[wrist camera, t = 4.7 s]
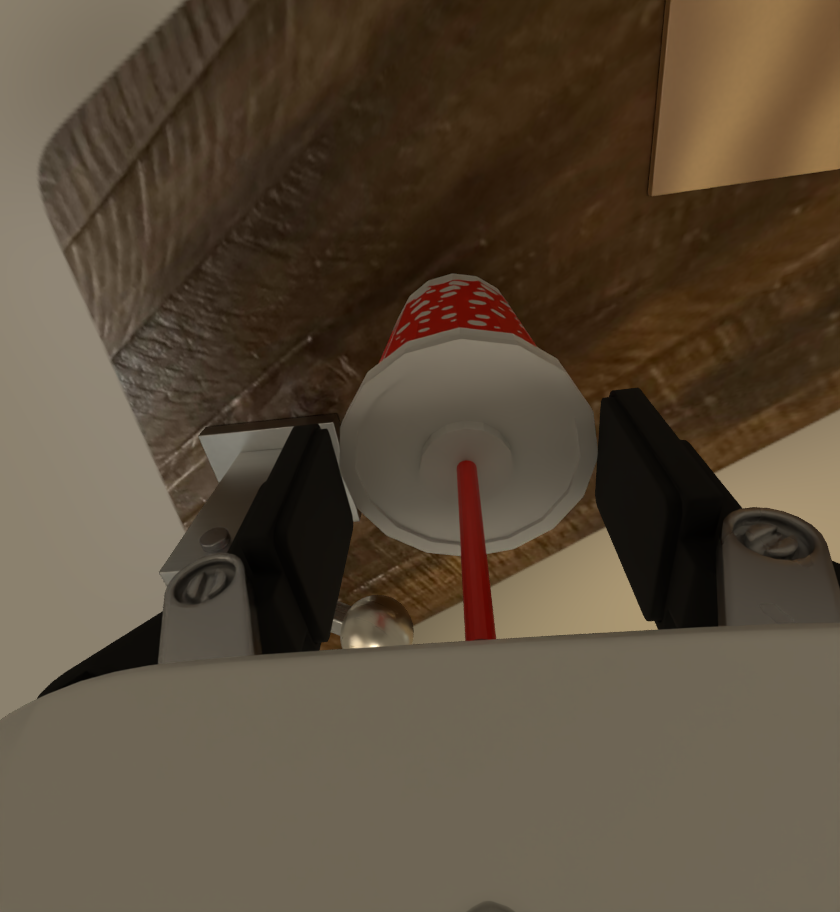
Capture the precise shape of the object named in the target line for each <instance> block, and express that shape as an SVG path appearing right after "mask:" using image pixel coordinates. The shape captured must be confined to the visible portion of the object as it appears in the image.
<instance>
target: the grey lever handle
mask: <svg viewBox="0 0 840 912" xmlns="http://www.w3.org/2000/svg"><path fill="white" fill-rule="evenodd" d="M331 632H332V633H335V634H337V635H340V639H341V645H342V648H343V649H352V648H367V647H381V646H396V645H412V642H413V633H414V630H413V623H412V620H411V617H410V615H409V613H408V611H407V610H406V609H405V607H404V606H403V605H402V604H401V603H400V602H398V601H397V600H395V599H393V598H391V597H388V596H384V595H372V596H368V597H365V598H363V599H361V600H359V601H357V602H356V603H355V604H354V605H353V606H349V605H347V604H344V603H341V602H338V601H337V605H336V609H335V614H334V619H333V623H332V628H331Z"/></svg>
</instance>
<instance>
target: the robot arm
mask: <svg viewBox="0 0 840 912" xmlns="http://www.w3.org/2000/svg"><path fill="white" fill-rule="evenodd" d="M595 497H596V503H597V507H598V510H599V512H600V514H601V517H602V519H603V521H604V524H605V526H606V528H607V531H608V533H609V535H610V538H611V540H612V543H613V545H614V547H615V549H616V552H617V554H618V557H619V559H620V561H621V564H622V566H623V569H624V571H625V573H626V576H627V578H628V580H629V583H630V585H631V587H632V590H633V592H634V595H635V597H636V599H637V602H638V604H639V606H640V608H641V611H642V613H643V616H644V618H645V619H646V620H647V621H655V623H656V626H657V628H658V630H644V631H627V632H610V633H592V634H574V635H557V636H541V637H525V638H510V639H509V638H508V639H492V640H475V641H459V642H444V643H428V644H413V645H396V646H381V647H367V648H352V649H337V650H323V651H319V650H320V645H321V642H327V641H328V640H329V637H330V633H331V628H332V623H333V619H334V614H335V609H336V605H337V600H338V596H339V591H340V586H341V582H342V577H343V573H344V568H345V563H346V559H347V554H348V549H349V545H350V540H351V536H352V531H353V516H352V512H351V508H350V505H349V501H348V498H347V494H346V490H345V487H344V483H343V480H342V476H341V473H340V469H339V465H338V462H337V458H336V455H335V451H334V448H333V444H332V440H331V437H330V434H329V431H328V429H321V427H320V426H319V424H309V425H300V426H294V427H293V428H292V430H291V432H290V434H289V436H288V438H287V440H286V442H285V444H284V446H283V448H282V450H281V452H280V454H279V456H278V458H277V460H276V463H275V465H274V467H273V469H272V471H271V473H270V475H269V477H268V479H267V481H266V482H264V483H263V484H262V485H261V486H260V488H259V490H258V492H257V494H256V496H255V498H254V500H253V502H252V504H251V506H250V508H249V510H248V512H247V514H246V516H245V518H244V520H243V522H242V524H241V526H240V528H239V530H238V532H237V534H236V536H235V538H234V540H233V542H232V544H231V546H230V547H229V549H228V551H227V553H215V554H211V555H207V556H204V557H201V558H199V559H197V560H195V561H193V562H191V563H190V564H188V565H187V566H185V567H183V568H182V569H181V570H180V571H179V572H178V573H177V574H176V575H175V576H174V577H173V578H172V580H171V581H170V582H169V584H168V585H167V589H166V592H165V596H164V607H163V611H162V612H161V613H159V614H158V615H156V616H154V617H153V618H151V619H150V620H148V621H146V622H145V623H143V624H142V625H140V626H138V627H137V628H135V629H134V630H132V631H130V632H129V633H127V634H126V635H124V636H122V637H121V638H119V639H118V640H116V641H115V642H113V643H111V644H110V645H108V646H106V647H105V648H103V649H102V650H100V651H99V652H97V653H95V654H94V655H92V656H91V657H89V658H88V659H86V660H84V661H83V662H81V663H79V664H78V665H76V666H75V667H73V668H71V669H70V670H68V671H67V672H65V673H64V674H63V675H61V676H60V677H58V678H57V679H56V680H54V681H53V682H52V683H51V684H50V685H49V686H48V687H47V688H46V689H45V690H44V691H43V692H42V693H41V694H40V695H39V696H38V698H37V699H36V700H34V701H32V702H30V703H28V704H26V705H24V706H22V707H21V708H19V709H17V710H15V711H14V712H12V713H10V714H8V715H7V716H5V717H4V718H2V719H1V720H0V912H840V564H839V563H836V562H834V561H832V560H831V556H830V553H829V550H828V546H827V543H826V541H825V539H824V538H823V536H822V534H821V533H820V532H819V531H818V530H817V529H816V528H815V527H813V526H812V525H811V524H809V523H808V522H806V521H804V520H803V519H801V518H799V517H797V516H794V515H792V514H789V513H786V512H784V511H779V510H774V509H770V508H757V507H752V508H745V509H742V507H741V506H740V505H739V504H738V502H737V501H736V500H735V499H734V497H733V496H732V495H731V494H730V492H729V491H728V490H727V489H726V488H725V486H724V485H723V484H722V483H721V481H720V480H719V479H718V478H717V477H716V475H715V474H714V473H713V471H712V470H711V469H710V468H709V467H708V465H707V464H706V463H705V462H704V460H703V459H702V458H701V457H700V455H699V454H698V453H697V452H696V450H695V449H694V448H693V447H692V445H691V444H690V443H689V442H687V441H686V440H680V439H679V438H678V437H677V436H676V434H675V433H674V432H673V430H672V429H671V428H670V427H669V425H668V424H667V423H666V422H665V420H664V419H663V418H662V416H661V415H660V414H659V413H658V411H657V410H656V409H655V408H654V406H653V405H652V404H651V402H650V401H649V400H648V399H647V397H646V396H645V395H644V394H643V392H642V391H641V390H640V389H639V388H631V389H622V390H613V391H611V392H610V395H609V397H607V398H603V399H602V401H601V409H600V425H599V441H598V457H597V473H596V489H595Z"/></svg>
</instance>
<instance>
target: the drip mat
mask: <svg viewBox="0 0 840 912" xmlns="http://www.w3.org/2000/svg"><path fill="white" fill-rule="evenodd" d="M836 169H840V0H666V3H665V14H664V25H663V36H662V46H661V57H660V68H659V79H658V89H657V100H656V111H655V122H654V132H653V143H652V154H651V165H650V175H649V186H648V195H649V196H659V195H665V194H672V193H679V192H686V191H693V190H699V189H706V188H713V187H720V186H727V185H734V184H740V183H747V182H754V181H761V180H768V179H774V178H781V177H788V176H795V175H802V174H808V173H815V172H822V171H829V170H836Z"/></svg>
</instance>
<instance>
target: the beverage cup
mask: <svg viewBox="0 0 840 912" xmlns="http://www.w3.org/2000/svg"><path fill="white" fill-rule="evenodd" d="M597 457H598V449H597V441H596V432H595V423H594V415H593V411H592V409H591V407H590V406H589V404H588V403H587V401H586V400H585V398H584V397H583V395H582V394H581V392H580V391H579V390H578V388H577V387H576V385H575V384H574V382H573V381H572V379H571V378H570V376H569V375H568V374H567V372H566V371H565V369H564V368H563V367H562V365H561V364H560V362H559V361H558V359H557V358H555V357H553V356H551V355H550V354H548V353H546V352H544V351H543V350H541V349H539V348H537V346H536V345H535V343H534V342H533V340H532V339H531V337H530V336H529V334H528V333H527V331H526V330H525V328H524V327H523V325H522V324H521V322H520V321H519V319H518V318H517V316H516V315H515V313H514V312H513V310H512V309H511V307H510V306H509V304H508V303H507V301H506V300H505V299H504V297H503V296H502V294H501V293H500V292H499V290H498V289H497V288H496V287H494V286H492V285H490V284H489V283H487V282H485V281H484V280H482V279H480V278H479V277H477V276H469V275H461V274H453V273H452V274H449V275H445V276H442V277H439V278H435V279H432V280H429V281H427V282H426V283H425V284H424V285H422V286H421V287H420V288H419V289H418V290H416V291H415V292H414V293H413V294H411V295H410V297H409V298H408V300H407V302H406V304H405V306H404V308H403V310H402V312H401V314H400V315H399V317H398V320H397V322H396V324H395V327H394V329H393V331H392V334H391V336H390V338H389V341H388V343H387V345H386V348H385V350H384V352H383V354H382V357H381V359H380V361H379V364H378V365H376V366H375V367H374V368H372V369H371V370H370V371H368V373H367V374H366V376H365V378H364V380H363V382H362V384H361V386H360V388H359V390H358V391H357V393H356V395H355V397H354V399H353V401H352V403H351V405H350V407H349V409H348V410H347V413H346V415H345V417H344V419H343V421H342V424H341V427H340V457H339V469H340V473H341V475H342V477H343V480H344V482H345V484H346V486H347V488H348V490H349V493H350V495H351V497H352V499H353V501H354V503H355V506H356V508H357V509H359V510H360V511H361V512H362V513H363V514H364V515H365V516H366V517H367V518H368V519H369V520H371V521H372V522H373V523H374V524H375V525H376V526H377V527H378V528H379V529H380V530H381V531H383V532H384V533H385V534H386V535H387V536H389V537H392V538H394V539H396V540H399V541H401V542H403V543H406V544H408V545H410V546H413V547H415V548H417V549H420V550H422V551H424V552H428V553H437V554H447V555H457V556H461V565H462V584H463V603H464V622H465V639H466V640H465V641H475V640H492V639H496V634H495V624H494V615H493V606H492V598H491V589H490V580H489V571H488V562H487V554H489V553H494V552H499V551H505V550H510V549H515V548H517V547H519V546H520V545H522V544H524V543H526V542H528V541H530V540H532V539H534V538H536V537H538V536H540V535H542V534H543V533H545V532H547V531H549V530H551V529H553V528H554V527H555V526H556V525H557V524H558V523H559V522H560V521H561V520H562V519H563V518H564V517H565V516H566V514H567V513H568V512H569V511H570V510H571V509H572V508H573V507H574V506H575V505H576V504H577V503H578V502H579V501H580V500H581V498H582V497H583V496H584V493H585V491H586V488H587V485H588V483H589V480H590V477H591V474H592V472H593V469H594V466H595V464H596V461H597Z"/></svg>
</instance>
